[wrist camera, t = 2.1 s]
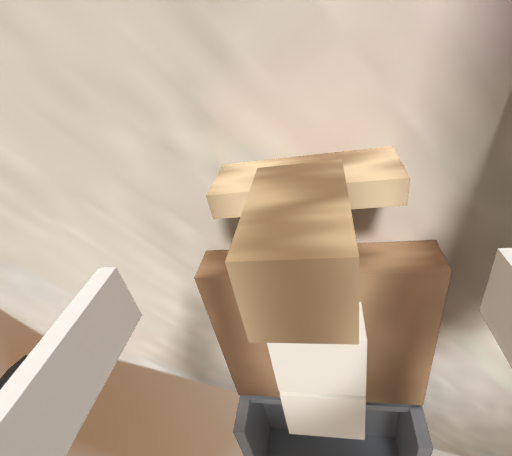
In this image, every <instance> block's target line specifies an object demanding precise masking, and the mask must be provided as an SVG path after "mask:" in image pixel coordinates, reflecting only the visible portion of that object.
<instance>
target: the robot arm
mask: <svg viewBox="0 0 512 456" xmlns="http://www.w3.org/2000/svg"><path fill="white" fill-rule="evenodd" d="M479 311H480V313H481V314H482V316H483V318H484V320H485V321H486V323H487V325H488V327H489V329H490V330H491V332H492V334H493V336H494V337H495V339H496V341H497V343H498V344H499V346H500V348H501V350H502V352H503V353H504V355H505V357H506V359H507V360H508V362H509V364H510V366H511V368H512V248H498V249H497V253H496V256H495V259H494V263H493V266H492V270H491V273H490V276H489V280H488V283H487V286H486V290H485V293H484V297H483V300H482V303H481V307H480V310H479ZM141 316H142V314H141V312H140V310H139V309H138V307H137V305H136V303H135V301H134V299H133V297H132V296H131V294H130V292H129V290H128V288H127V286H126V284H125V282H124V281H123V279H122V277H121V275H120V273H119V271H118V269H117V268H116V267H106V268H99V269H98V270H97V271H96V272H95V273H94V275H93V276H92V277H91V278H90V280H89V281H88V282H87V283H86V285H85V286H84V287H83V288H82V290H81V291H80V292H79V293H78V294H77V296H76V297H75V298H74V299H73V301H72V302H71V303H70V304H69V306H68V307H67V308H66V309H65V311H64V312H63V313H62V314H61V315H60V317H59V318H58V319H57V320H56V322H55V323H54V324H53V325H52V327H51V328H50V329H49V330H48V332H47V333H46V334H45V335H44V336H43V338H42V339H41V340H40V342H39V343H38V344H37V345H36V347H35V348H34V349H33V350H32V351H31V353H30V354H29V355H28V356H27V355H25V356H24V357H23V358H21V359H20V360H19V361H18V362H17V363H15V364H14V365H13V366H12V367H11V368H9V369H8V370H7V372H6V373H5V374H4V375H3V376H2V377H1V379H0V456H65V455H66V454H67V452H68V450H69V448H70V446H71V444H72V443H73V441H74V439H75V437H76V435H77V433H78V432H79V430H80V428H81V426H82V424H83V422H84V420H85V419H86V417H87V415H88V413H89V411H90V410H91V408H92V406H93V404H94V402H95V400H96V399H97V397H98V395H99V393H100V391H101V389H102V388H103V386H104V384H105V382H106V380H107V378H108V376H109V375H110V373H111V371H112V369H113V367H114V365H115V364H116V362H117V360H118V358H119V356H120V354H121V353H122V351H123V349H124V347H125V345H126V343H127V342H128V340H129V338H130V336H131V334H132V332H133V331H134V329H135V327H136V325H137V323H138V321H139V320H140V318H141Z"/></svg>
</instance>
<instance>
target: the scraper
mask: <svg viewBox="0 0 512 456" xmlns="http://www.w3.org/2000/svg"><path fill="white" fill-rule="evenodd" d="M409 183H410V177H409V175H408V173H407V171H406V169H405V167H404V166H403V164H402V162H401V160H400V158H399V156H398V155H397V153H396V151H395V149H394V147H393V146H390V147H380V148H371V149H362V150H353V151H344V152H334V153H325V154H316V155H307V156H298V157H289V158H279V159H270V160H261V161H252V162H243V163H233V164H224V165H223V166H222V168H221V170H220V172H219V174H218V175H217V177H216V179H215V181H214V182H213V184H212V186H211V188H210V190H209V191H208V193H207V195H206V196H207V200H208V203H209V207H210V210H211V213H212V217H213V219H221V218H236V217H240V220H239V223H238V226H237V228H236V231H235V234H234V237H233V240H232V243H231V246H230V249H229V252H228V255H227V257H226V260H225V264H226V268H227V271H228V274H229V278H230V281H231V284H232V288H233V291H234V294H235V298H236V301H237V304H238V308H239V311H240V315H241V318H242V321H243V325H244V328H245V331H246V335H247V338H248V341H249V342H251V343H302V344H354V345H359V252H358V247H357V241H356V235H355V230H354V224H353V218H352V213H351V209H364V208H378V207H393V206H407V203H408V193H409Z"/></svg>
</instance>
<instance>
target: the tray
mask: <svg viewBox="0 0 512 456" xmlns="http://www.w3.org/2000/svg"><path fill="white" fill-rule="evenodd" d="M233 432H234V435H235V437H236V439H237V441H238V444H239V446H240V448H241V450H242V452H243V455H244V456H431V454H432V450H433V447H432V443H431V439H430V435H429V432H428V428H427V424H426V420H425V416H424V413H423V409H422V405H407V404H390V403H372V402H366V411H365V440H359V439H347V438H335V437H322V436H310V435H298V434H289V430H288V426H287V422H286V418H285V414H284V410H283V406H282V402H281V398H280V397H267V396H250V395H240V399H239V404H238V410H237V415H236V420H235V425H234V431H233Z"/></svg>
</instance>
